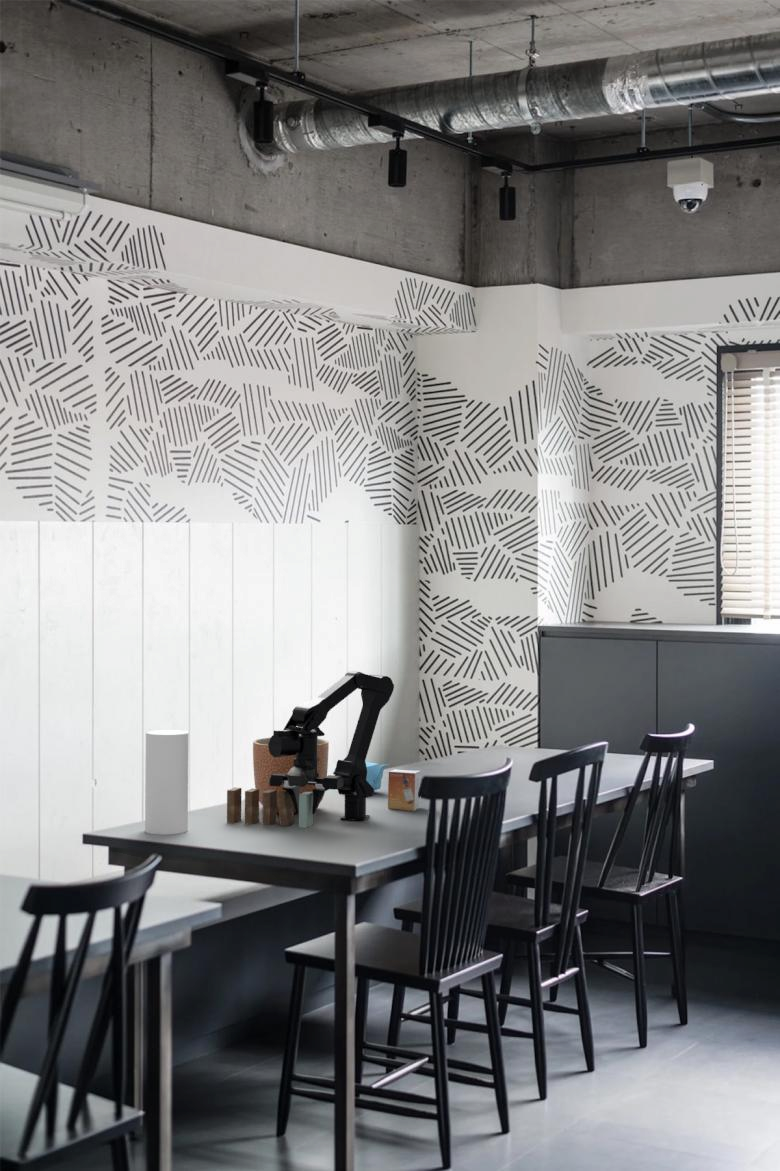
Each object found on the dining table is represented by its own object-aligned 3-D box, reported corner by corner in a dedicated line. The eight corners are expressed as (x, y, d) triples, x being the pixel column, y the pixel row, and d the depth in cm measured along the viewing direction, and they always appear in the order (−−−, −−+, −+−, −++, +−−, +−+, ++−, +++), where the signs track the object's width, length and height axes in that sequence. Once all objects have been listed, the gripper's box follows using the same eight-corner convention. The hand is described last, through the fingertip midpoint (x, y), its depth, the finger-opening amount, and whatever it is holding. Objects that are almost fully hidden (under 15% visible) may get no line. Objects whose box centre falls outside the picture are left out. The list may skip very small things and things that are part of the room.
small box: (387, 809, 398) (387, 771, 398) (393, 806, 403) (394, 768, 403) (414, 811, 395) (415, 773, 395) (420, 807, 401) (421, 770, 400)
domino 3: (262, 825, 372) (262, 792, 372) (269, 821, 377) (269, 789, 377) (269, 825, 371) (270, 792, 371) (276, 822, 376) (276, 789, 376)
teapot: (324, 793, 424) (324, 759, 423) (347, 787, 436) (348, 754, 436) (378, 798, 415) (378, 764, 415) (400, 792, 428) (400, 758, 427)
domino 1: (226, 822, 375) (227, 790, 375) (234, 819, 380) (234, 787, 379) (233, 823, 374) (234, 790, 374) (241, 819, 379) (241, 787, 379)
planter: (268, 801, 408) (269, 735, 407) (337, 806, 402) (338, 738, 402) (240, 814, 388) (241, 744, 387) (313, 818, 382) (314, 747, 382)
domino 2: (244, 823, 373) (244, 791, 373) (251, 820, 378) (252, 788, 378) (251, 824, 373) (252, 791, 373) (258, 821, 378) (259, 788, 377)
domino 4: (280, 826, 371) (276, 793, 371) (287, 822, 375) (283, 790, 376) (287, 825, 370) (283, 792, 370) (294, 822, 375) (290, 789, 375)
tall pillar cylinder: (187, 826, 369) (188, 729, 368) (188, 834, 358) (188, 734, 358) (145, 827, 367) (146, 729, 367) (144, 835, 357) (145, 734, 356)
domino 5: (298, 827, 369) (299, 794, 369) (305, 824, 374) (305, 791, 374) (306, 827, 368) (306, 794, 368) (312, 824, 373) (312, 792, 373)
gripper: (261, 756, 366) (260, 817, 366) (330, 759, 361) (330, 821, 361) (276, 751, 377) (276, 810, 377) (344, 754, 371) (343, 814, 372)
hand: (305, 814), depth 371 cm, fingers open, 4 cm apart
